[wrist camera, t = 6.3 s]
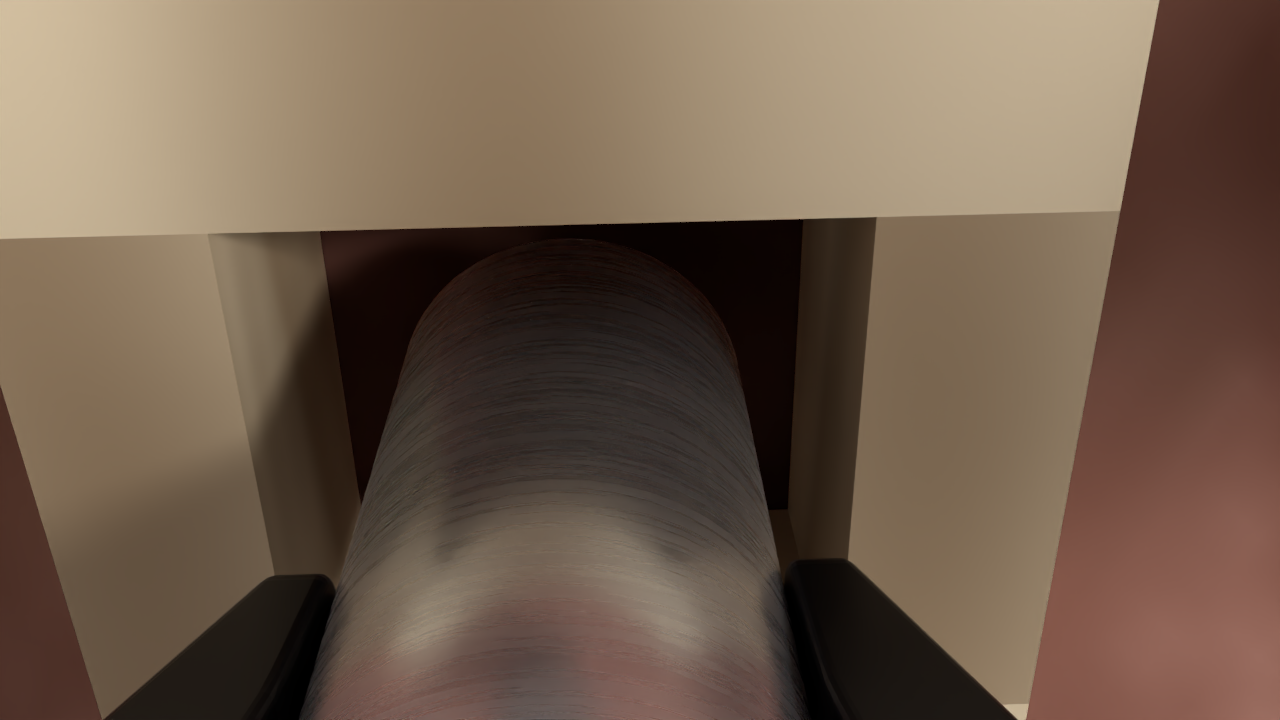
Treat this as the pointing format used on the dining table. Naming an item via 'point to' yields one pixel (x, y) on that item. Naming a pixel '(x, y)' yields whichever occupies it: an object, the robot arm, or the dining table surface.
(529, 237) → the dining table surface
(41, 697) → the dining table surface
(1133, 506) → the dining table surface
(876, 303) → the oak block
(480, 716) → the steel pin
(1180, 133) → the dining table surface
